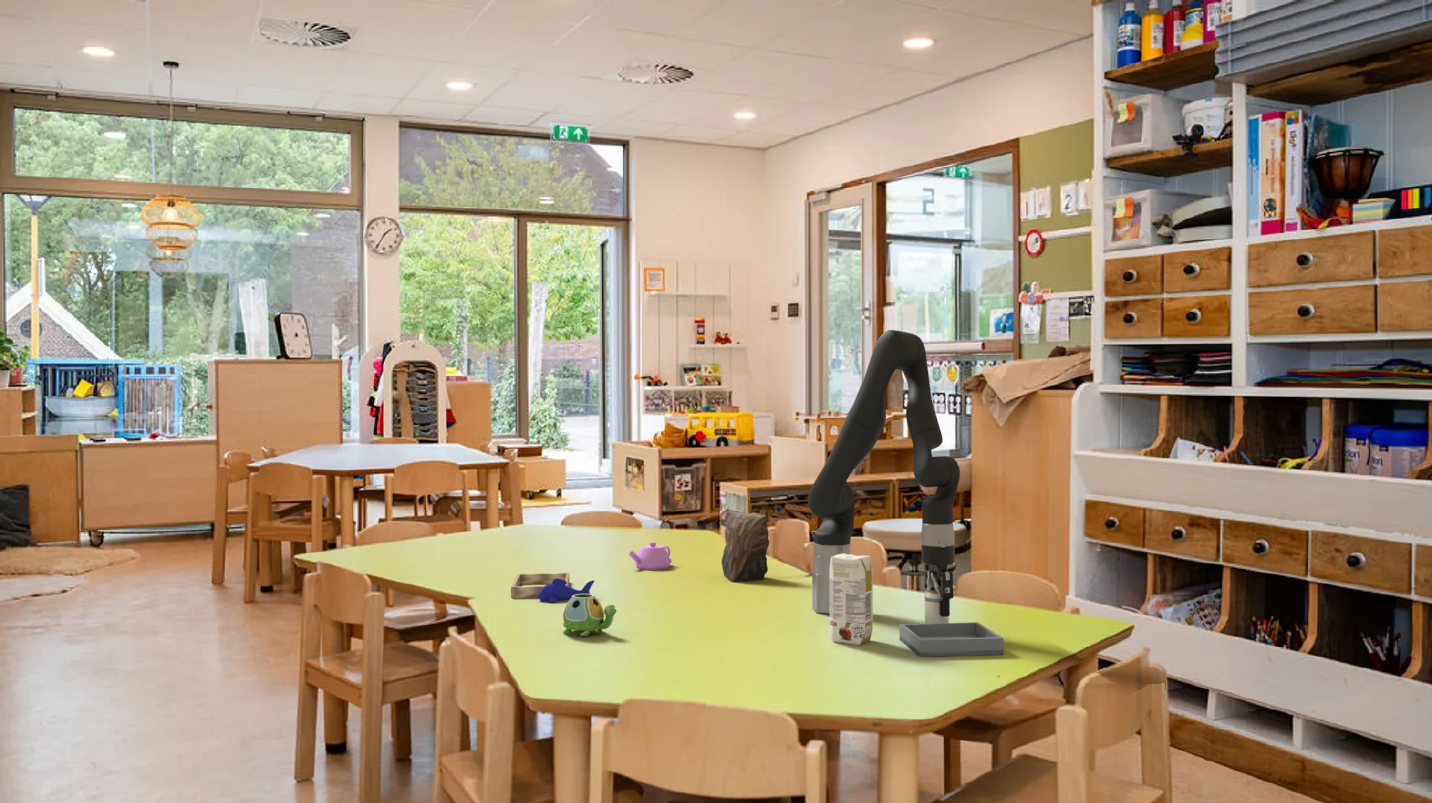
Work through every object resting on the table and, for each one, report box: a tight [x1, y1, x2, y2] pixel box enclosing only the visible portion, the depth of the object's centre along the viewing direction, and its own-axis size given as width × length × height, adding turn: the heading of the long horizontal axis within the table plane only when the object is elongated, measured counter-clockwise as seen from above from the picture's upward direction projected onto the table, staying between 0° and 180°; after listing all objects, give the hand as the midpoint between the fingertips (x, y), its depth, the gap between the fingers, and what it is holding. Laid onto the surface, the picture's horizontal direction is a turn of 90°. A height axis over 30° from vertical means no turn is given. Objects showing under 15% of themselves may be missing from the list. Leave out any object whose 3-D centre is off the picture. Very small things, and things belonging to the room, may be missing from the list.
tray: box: [899, 621, 1004, 658], centre depth 238 cm, size 18×16×4 cm
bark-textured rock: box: [721, 511, 770, 583], centre depth 323 cm, size 13×13×20 cm
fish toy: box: [537, 579, 595, 603], centre depth 289 cm, size 15×8×7 cm, turn 110°
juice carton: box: [829, 553, 874, 646], centre depth 244 cm, size 8×9×19 cm
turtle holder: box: [562, 593, 617, 637], centre depth 253 cm, size 9×13×9 cm
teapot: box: [628, 541, 672, 571], centre depth 338 cm, size 10×15×9 cm
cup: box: [924, 590, 950, 624], centre depth 254 cm, size 6×6×9 cm
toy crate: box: [510, 572, 571, 599], centre depth 302 cm, size 15×22×4 cm
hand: (938, 612), depth 254 cm, fingers open, 8 cm apart
